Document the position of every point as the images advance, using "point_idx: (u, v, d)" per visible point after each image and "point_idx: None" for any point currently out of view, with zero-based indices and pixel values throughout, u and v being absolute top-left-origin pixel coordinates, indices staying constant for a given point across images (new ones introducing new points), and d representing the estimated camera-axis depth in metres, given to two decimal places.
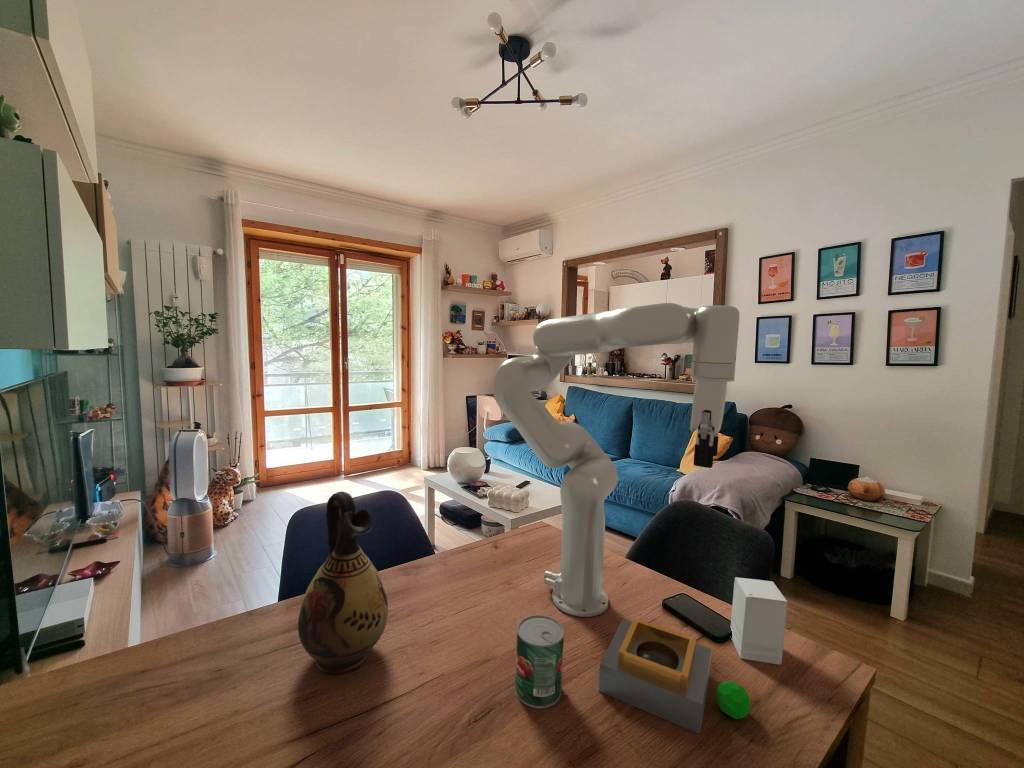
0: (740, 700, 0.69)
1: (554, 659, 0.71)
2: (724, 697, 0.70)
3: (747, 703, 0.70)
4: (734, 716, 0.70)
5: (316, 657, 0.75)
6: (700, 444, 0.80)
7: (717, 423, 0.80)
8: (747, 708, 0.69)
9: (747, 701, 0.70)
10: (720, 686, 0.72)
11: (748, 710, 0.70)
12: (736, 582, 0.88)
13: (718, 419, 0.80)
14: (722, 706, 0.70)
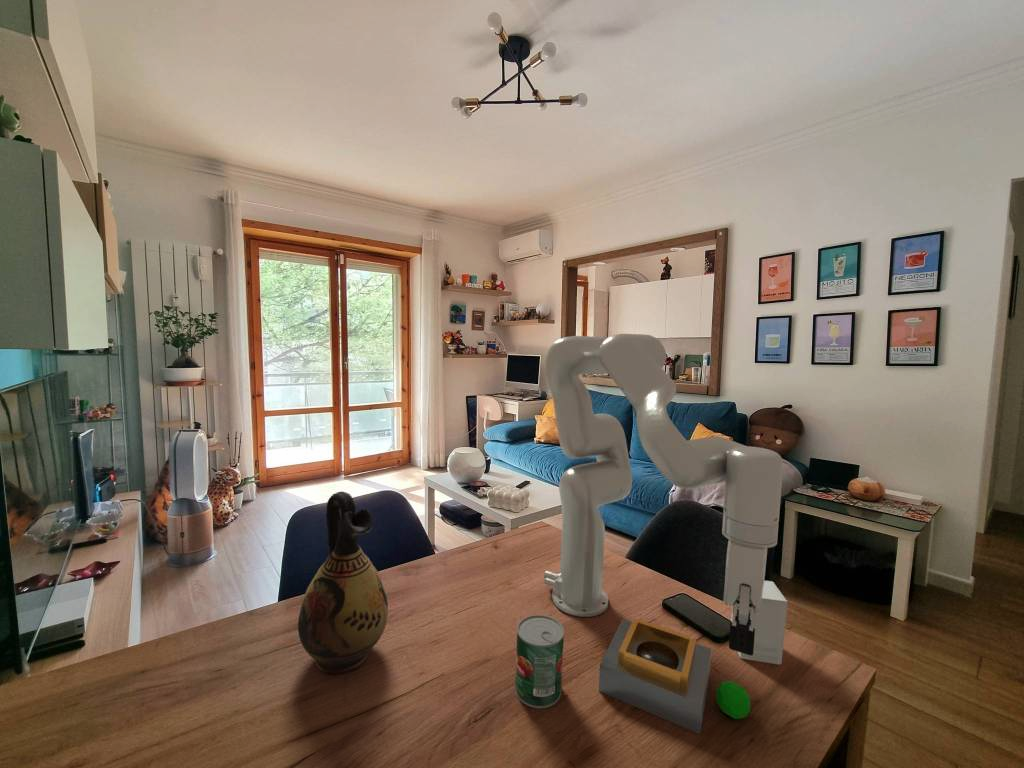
0: (740, 701, 0.69)
1: (554, 658, 0.71)
2: (724, 697, 0.70)
3: (747, 703, 0.69)
4: (734, 716, 0.70)
5: (316, 657, 0.75)
6: (738, 627, 0.64)
7: (759, 602, 0.64)
8: (747, 708, 0.69)
9: (747, 701, 0.70)
10: (720, 686, 0.72)
11: (748, 710, 0.70)
12: None
13: (760, 596, 0.64)
14: (722, 706, 0.70)
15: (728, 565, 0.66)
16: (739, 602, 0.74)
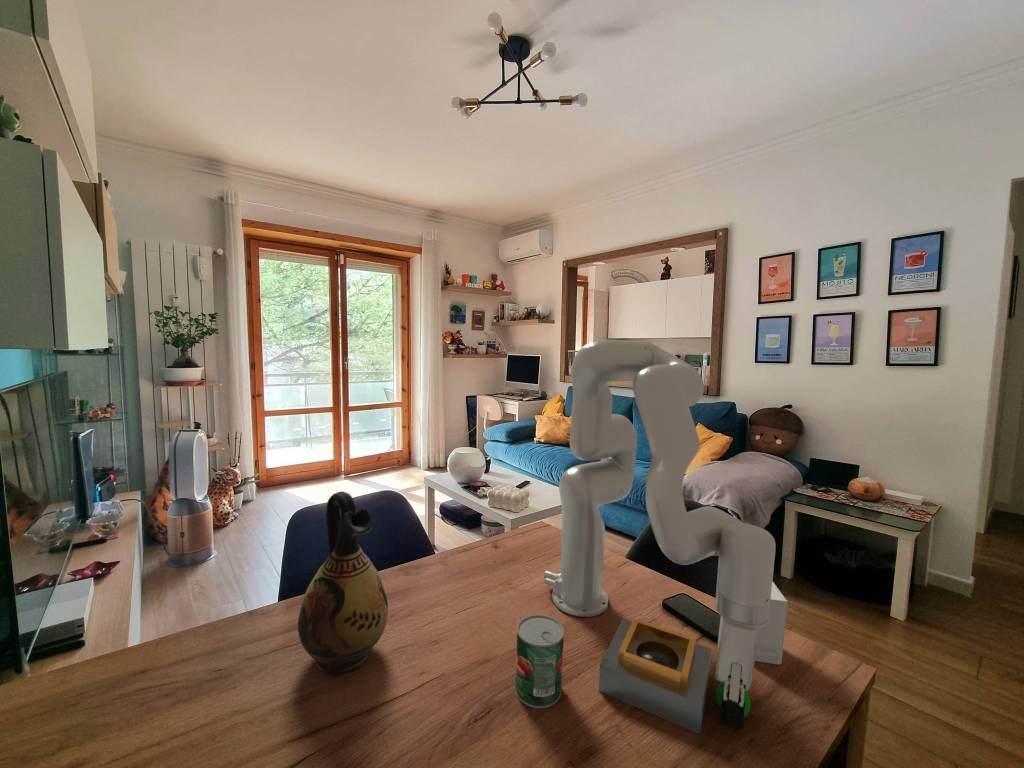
0: None
1: (554, 658, 0.71)
2: None
3: (747, 703, 0.69)
4: None
5: (316, 657, 0.75)
6: (728, 702, 0.68)
7: (749, 681, 0.66)
8: (747, 708, 0.69)
9: (747, 701, 0.70)
10: (720, 686, 0.72)
11: (748, 710, 0.70)
12: None
13: (750, 676, 0.66)
14: None
15: (720, 643, 0.67)
16: None
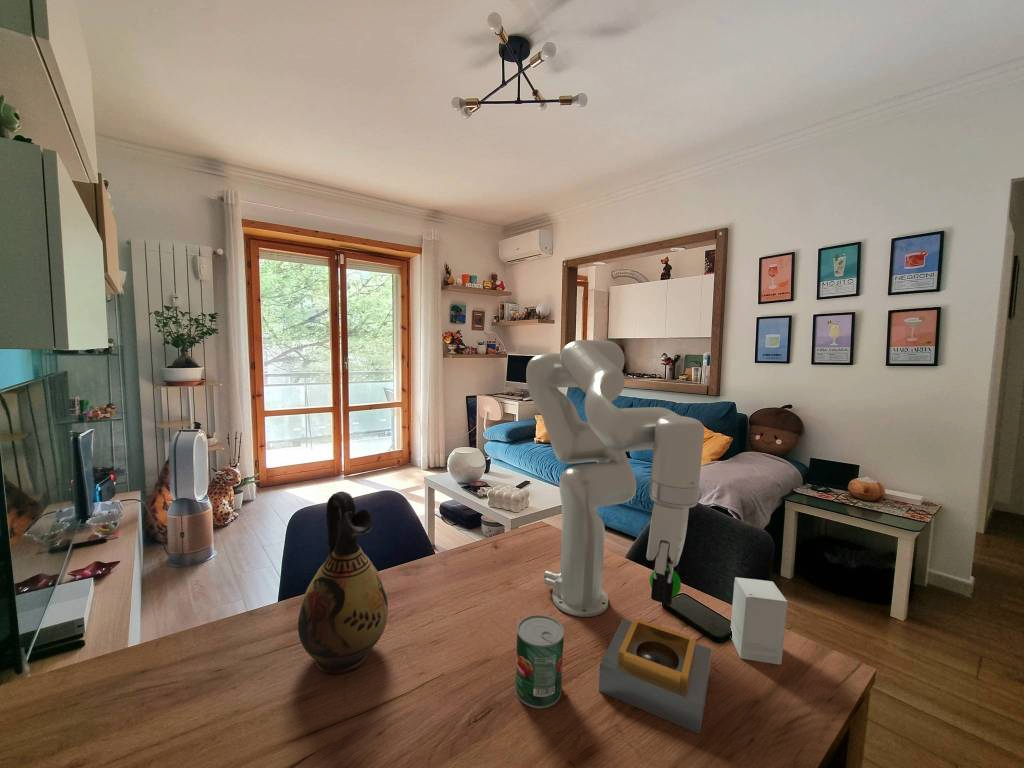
0: None
1: (554, 659, 0.71)
2: None
3: (677, 583, 0.74)
4: None
5: (316, 657, 0.75)
6: (658, 579, 0.72)
7: (676, 557, 0.70)
8: (676, 587, 0.73)
9: (677, 581, 0.74)
10: None
11: (678, 589, 0.74)
12: (736, 582, 0.88)
13: (677, 552, 0.70)
14: None
15: (651, 524, 0.71)
16: None
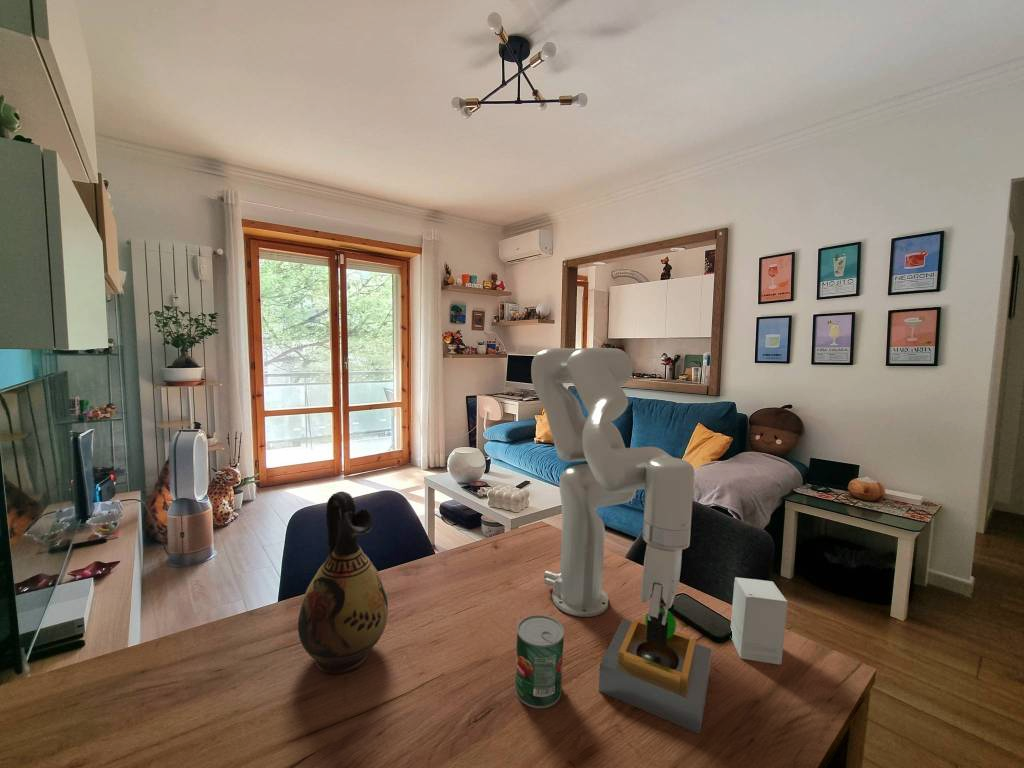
0: None
1: (554, 658, 0.71)
2: None
3: (672, 624, 0.74)
4: None
5: (316, 657, 0.75)
6: (652, 621, 0.73)
7: (669, 599, 0.70)
8: (671, 628, 0.74)
9: (672, 622, 0.74)
10: None
11: (673, 631, 0.74)
12: (736, 582, 0.88)
13: (670, 594, 0.70)
14: None
15: (644, 565, 0.72)
16: None
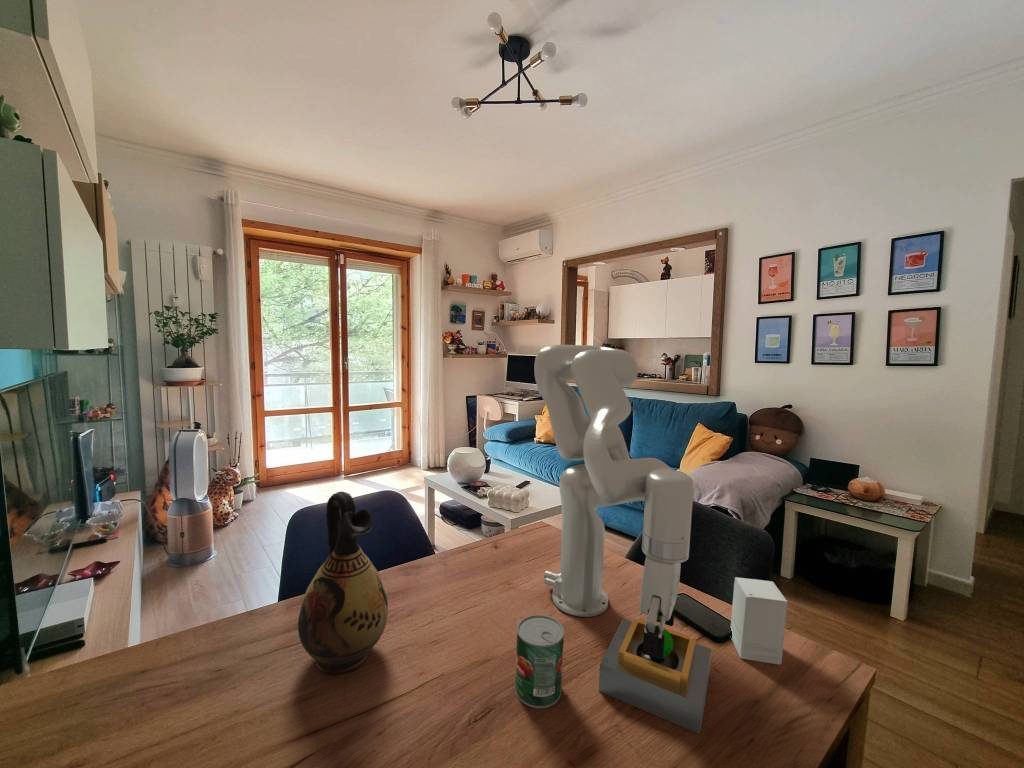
0: None
1: (554, 659, 0.71)
2: None
3: (669, 643, 0.75)
4: None
5: (316, 657, 0.75)
6: (649, 634, 0.71)
7: (668, 612, 0.71)
8: (669, 648, 0.75)
9: (669, 642, 0.75)
10: None
11: (670, 650, 0.75)
12: (736, 582, 0.88)
13: (669, 607, 0.71)
14: None
15: (643, 578, 0.73)
16: None
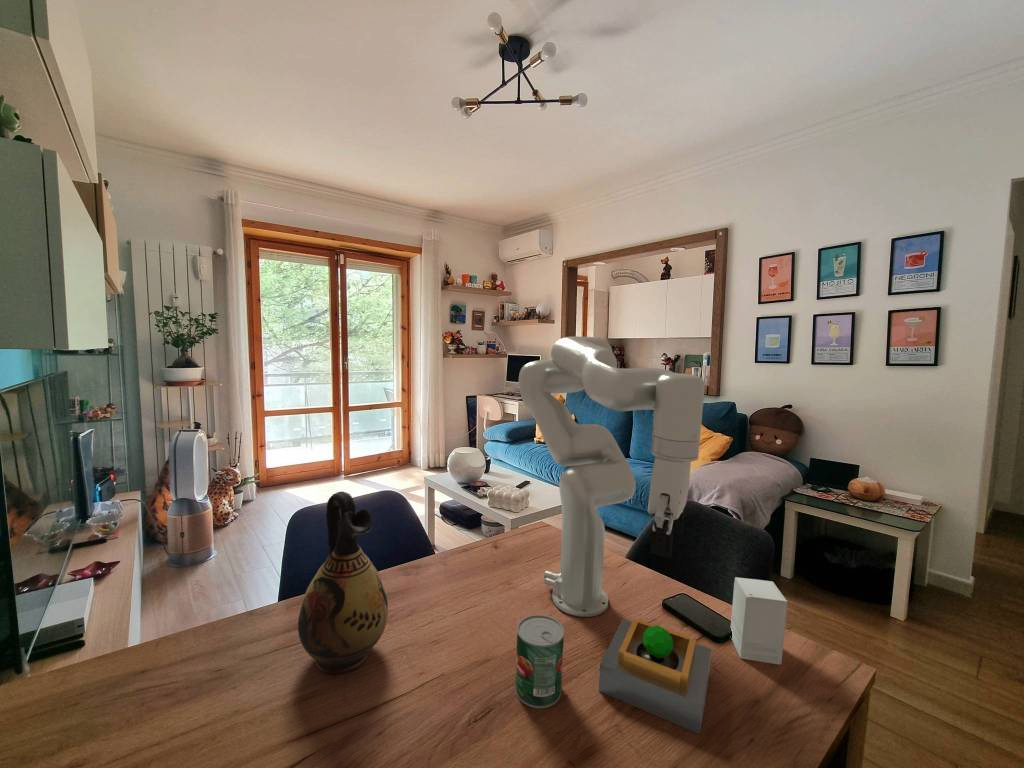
0: (662, 641, 0.75)
1: (554, 659, 0.71)
2: (648, 639, 0.76)
3: (669, 643, 0.75)
4: (657, 656, 0.75)
5: (316, 657, 0.75)
6: (657, 531, 0.71)
7: (676, 509, 0.71)
8: (669, 648, 0.75)
9: (669, 642, 0.75)
10: (646, 630, 0.78)
11: (670, 650, 0.75)
12: (736, 582, 0.88)
13: (677, 504, 0.71)
14: (646, 647, 0.76)
15: (652, 478, 0.73)
16: (669, 519, 0.81)
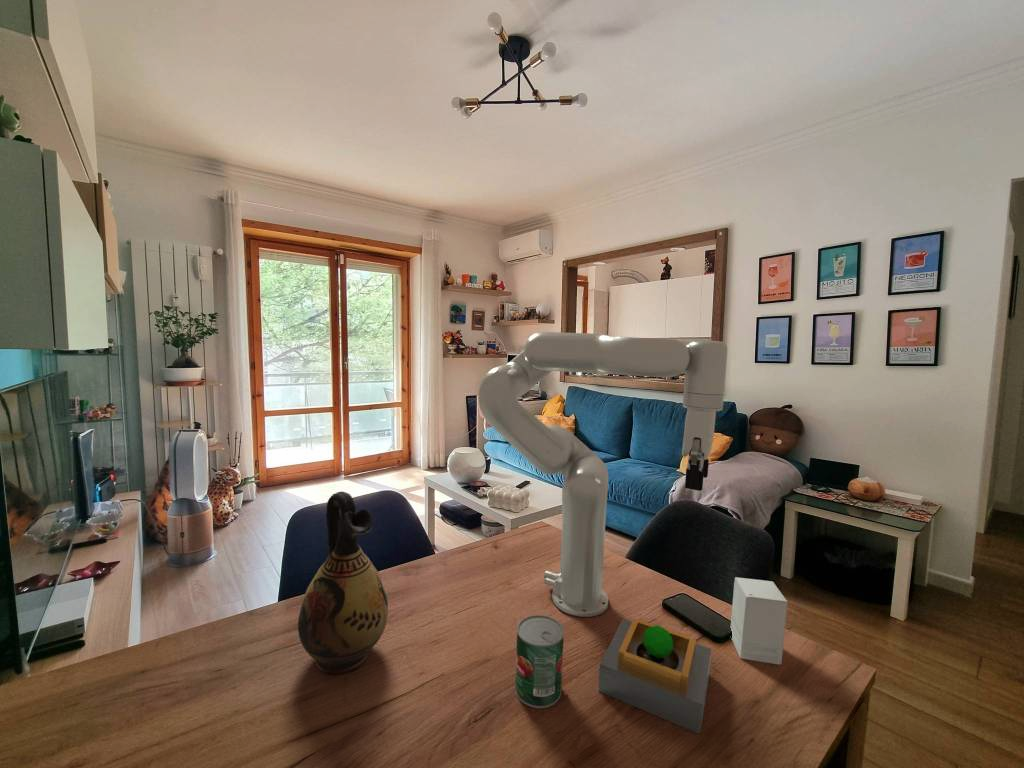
0: (662, 641, 0.75)
1: (554, 658, 0.71)
2: (648, 639, 0.76)
3: (669, 643, 0.75)
4: (657, 656, 0.75)
5: (316, 657, 0.75)
6: (691, 469, 0.87)
7: (706, 450, 0.86)
8: (669, 648, 0.75)
9: (669, 642, 0.75)
10: (646, 630, 0.78)
11: (670, 650, 0.75)
12: (736, 582, 0.88)
13: (707, 446, 0.86)
14: (646, 647, 0.76)
15: (685, 425, 0.88)
16: None
